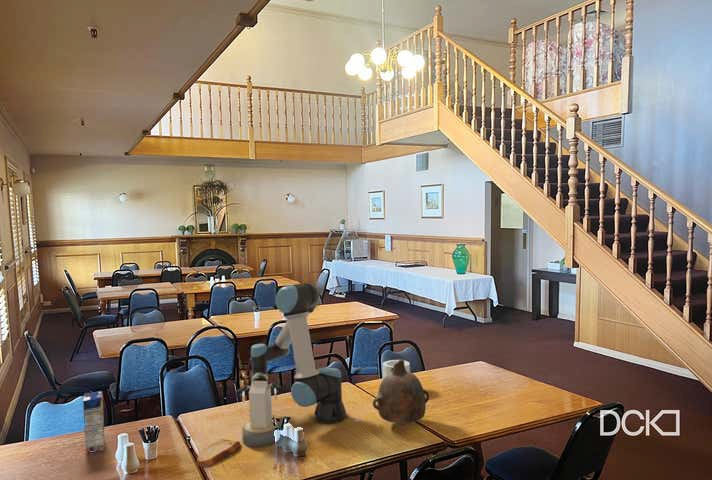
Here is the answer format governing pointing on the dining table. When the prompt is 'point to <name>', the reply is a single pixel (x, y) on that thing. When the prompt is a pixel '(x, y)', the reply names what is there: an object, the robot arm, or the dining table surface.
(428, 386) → the dining table surface
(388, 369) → the container
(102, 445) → the beverage box
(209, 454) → the slice of bread
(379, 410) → the jug
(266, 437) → the podium
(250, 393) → the milk carton
